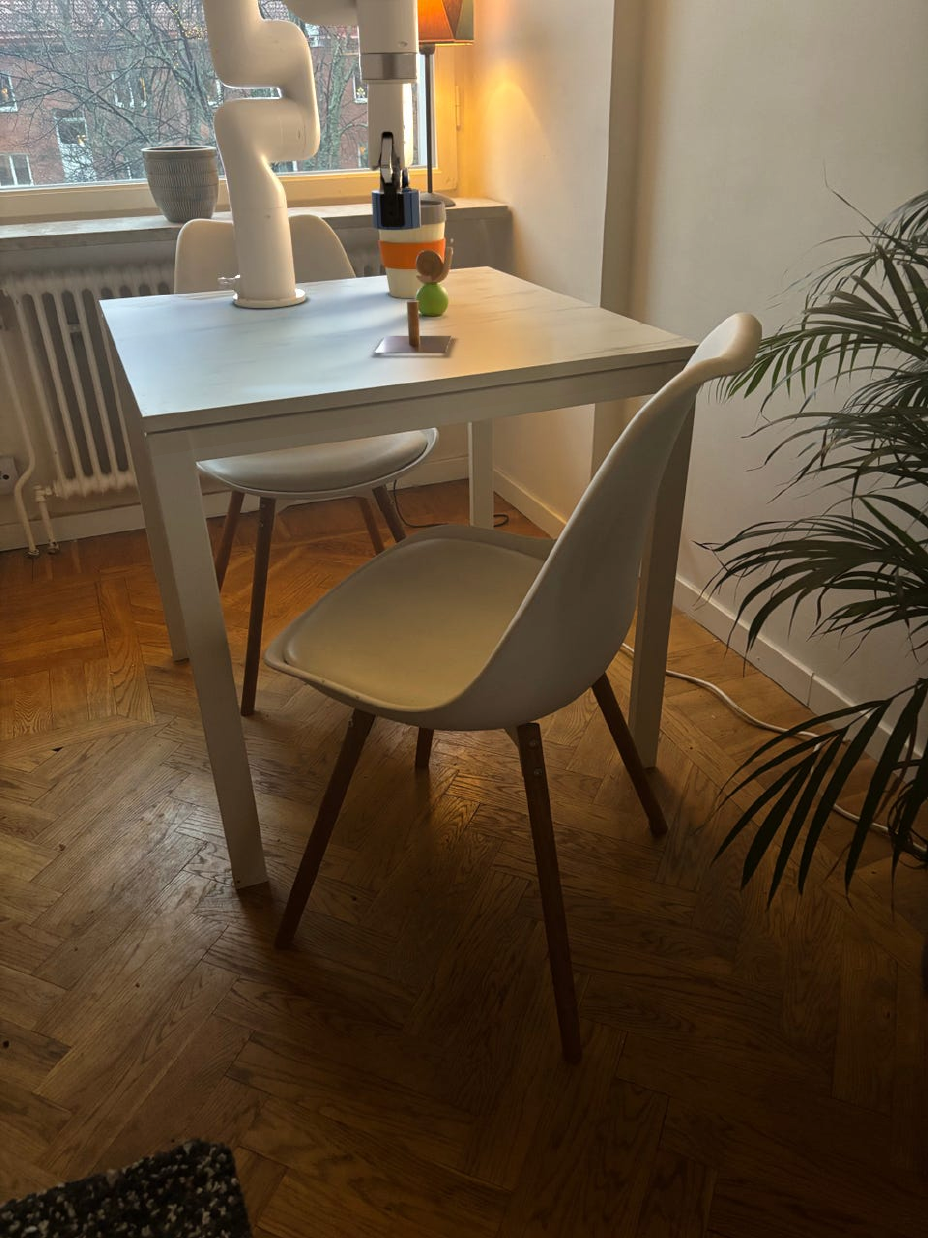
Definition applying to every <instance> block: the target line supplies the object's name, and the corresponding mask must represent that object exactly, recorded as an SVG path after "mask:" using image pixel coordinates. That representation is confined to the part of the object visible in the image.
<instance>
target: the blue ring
mask: <svg viewBox="0 0 928 1238" xmlns="http://www.w3.org/2000/svg"><path fill="white" fill-rule="evenodd" d="M379 194H380V189H373V190H372V191H371V209H372V210H371V211H372V226H373V229H376V230H378V231H379V230H409V229H415V228H419V227H420V226H421V210H420V200H421V191H420V189H417V188H411V189H407V188H405V189H404V188H402V194H404V202H405V226H404V227H382V225H381V213H380V195H379Z"/></svg>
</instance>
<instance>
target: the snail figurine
mask: <svg viewBox="0 0 928 1238" xmlns="http://www.w3.org/2000/svg"><path fill="white" fill-rule="evenodd" d="M448 243H449V244H453V243H454V239H453V238H450V239H449V240H448ZM453 255H454V248H453V246H447V247H446V246H445V250H444V263H443V261H442V259H441V257H440V255H439V254H438V253H437V252H435V251H432V250H424V251H422V252H421V253H420V254H419V255H418V256H417V258H416V269H417V271H418V272H419V273H420V274H421V276H420V275H416V278H417V279H418V280H419V281H420V282H421V283H423V284H424V285H423V286H421V287H420V288H419V290H418V291H417V294H416V298H414V300H417V301H418V310H419V313H420V314H421V315H422V316H426V317H438V316H442V315H443V314H444V313H445V312H446V311H447V309H448V307H449V303H450V302H449V301H450V297H449V294H448V292H447V290H446V288H445V287H444V286H443V285H441V284H440V283H441V282H443V281H444V280H445V279H447V277H448V275H449V272H450V269H451V265H452V260H453V259H452V257H453ZM439 282H440V283H439ZM437 283H439V284H437Z"/></svg>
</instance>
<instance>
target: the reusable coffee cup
mask: <svg viewBox="0 0 928 1238" xmlns="http://www.w3.org/2000/svg"><path fill="white" fill-rule="evenodd" d="M420 210H421V226H420V227H419V228H415V229H409V230H379V229H378V235H379V238H378V239H377V243H378V248H379V254H380V258H381V264H382V267H384V268H385V269H384V270H385V275H386V280H387V285H388V292H389V295H390V296H391V297H394V298H398V299H399V298H400V299H415V298H416V294H417V291H418V290H419V288H420V287H421V286H423V285H424V284H423V283H421V282H420V281H419V280H418V279H417V278H416V275H420V276H421V274H420V273H419V272H418V271H417V269H416V258H417V256H418V255H419V254H420V253H421V252H422V251H424V250H432V251H435V252H437V253H438V254H439V255H440V257H441V259H442V261H443V264H444V259H445V253H444V250H445V248H446V241H447V240H446V239H447V238H446V236H445V225H446V224H445V223H446V222H447V219H448V218H447V211H446V204H445V202H444V201H441V200H434V199H433V200H432V199H431V200H430V199H420ZM440 283H441V282H439V283H437V284H440Z"/></svg>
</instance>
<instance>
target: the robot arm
mask: <svg viewBox="0 0 928 1238" xmlns="http://www.w3.org/2000/svg"><path fill="white" fill-rule="evenodd" d="M281 1H282V2H283V4H284V5H285V6H286V8H287V9H288V10H289V11H290V13H292V15H293V16H294V17H295V18H297V19H298V20H300V21H301V22H302V23H305V24H307V25H309V26H315V27H351V28H357V38H358V39H357V40H358V54H359V55H358V57H359V73H360V85H367V95H366V96H367V98H366V101H367V102H366V103H367V104H366V113H367V114H366V115H367V116H366V117H367V123H366V124H367V157H368V158H367V159H368V161H367V163H368V168H369V169H370V171H372V172H376V171H377V170H379V190H380V194H379V195H380V213H381V225H382V227H404V226H405V202H404V194H402V188H404V189H405V188H407V189H412V188H411V187H410V186H411V182H410V169H409V167H410V166H411V165H412V164H413V162H414V121H413V117H414V116H413V99H412V98H413V97H412V94H413V93H412V85H413V84H421V81H420V77H421V76H420V54H419V52H420V51H419V23H418V22H419V19H418V18H419V16H418V0H281ZM201 3H202V9H203V15H204V22H205V28H206V33H207V34H206V35H207V40H208V45H209V51H210V57H211V62H212V67H213V70H214V73H215V76H216V78H217V79H218V81H219V82H220V83H221V84H222V85H223V86H225V87H227V88H232V89H277V91H278V94H279V97H241V98H234V99H231V100H227V101H225V102H223V103H222V104H220V105H219V106H218V108H217V109H216V110H215V112H214V115H213V121H212V127H213V134H214V138H215V142H216V145H217V149H218V152H219V155H220V159H221V163H222V167H223V171H224V176H225V182H226V187H227V195H228V201H229V208H230V216H231V222H232V229H233V237H234V245H235V251H236V260H237V267H238V275H236V276H235V277H233V278H231V277H218V278H217V288H218V289H219V290H220V291H234V292H236V294H235V295H233V297H232V299H233V303H234V305H236V306H238V307H242V308H251V309H270V308H271V309H272V308H282V307H289V306H295V305H297V304H300V303H303V302H305V300H306V299H307V297H306V292H305V291H303V290H302V289H297V286H296V278H295V277H296V276H295V267H294V257H293V248H292V238H291V228H290V219H289V210H288V201H287V200H288V199H287V194H286V190H285V187H284V185H283V184H282V182H281V180H280V179H279V178H278V176H277V175H276V174H275V172H274V171H273V170H272V168H271V166H270V164H275V163H287V162H288V163H289V162H298V161H299V162H300V161H306V160H309V159H311V158H313V157H314V156H315V155H316V154H317V152H318V150H319V147H320V142H321V124H320V116H319V115H320V114H319V108H318V107H319V106H318V100H317V99H318V97H317V91H316V83H315V74H314V67H313V59H312V54H311V53H312V52H311V49H310V46H309V43H308V40H307V38H306V36H305V34H304V32H303V31H302V29H301V28H300V27H299V26H298V25H297V24H295V23H294V22H292V21H289V20H285V19H264V18H263V17H262V15H261V13H260V7H259V1H258V0H201Z"/></svg>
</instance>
